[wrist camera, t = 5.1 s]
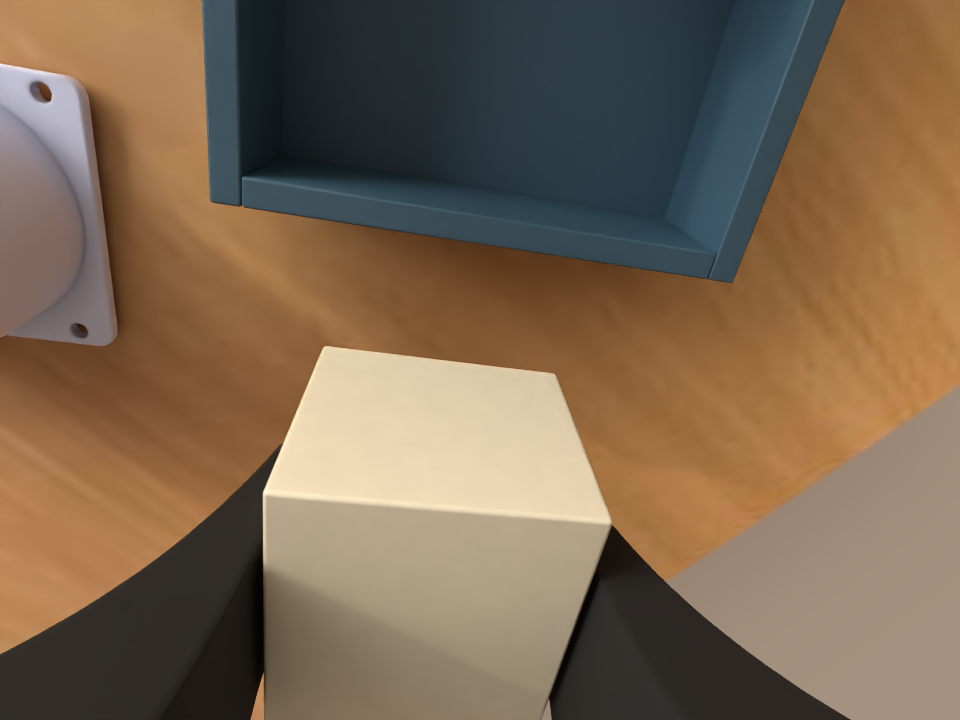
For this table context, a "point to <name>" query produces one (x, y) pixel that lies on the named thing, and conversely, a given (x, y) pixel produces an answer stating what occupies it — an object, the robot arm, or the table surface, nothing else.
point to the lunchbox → (515, 119)
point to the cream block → (425, 542)
